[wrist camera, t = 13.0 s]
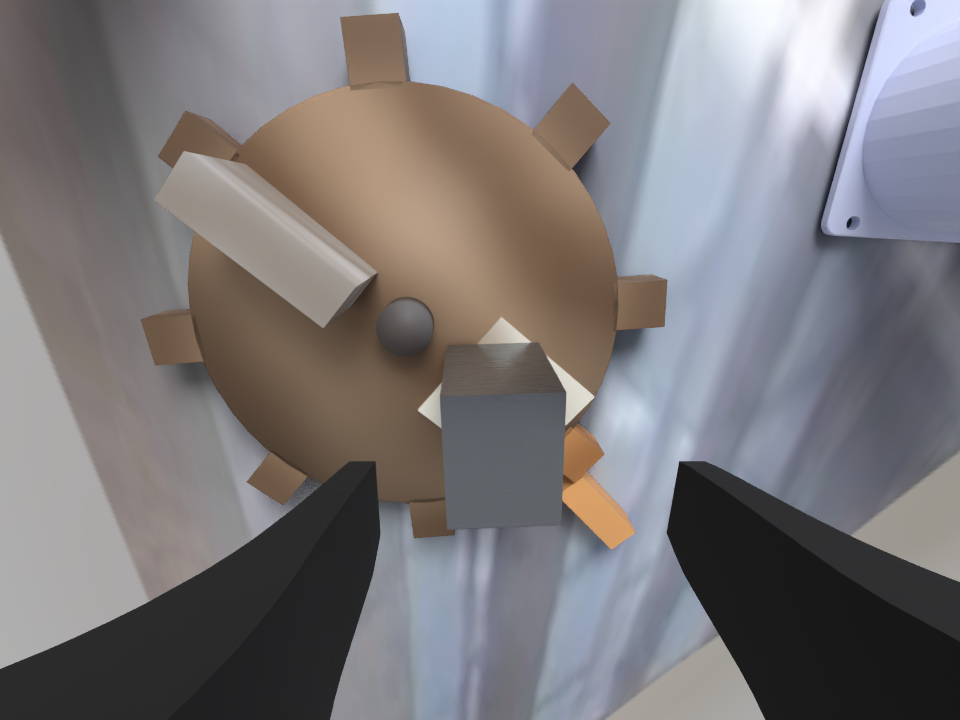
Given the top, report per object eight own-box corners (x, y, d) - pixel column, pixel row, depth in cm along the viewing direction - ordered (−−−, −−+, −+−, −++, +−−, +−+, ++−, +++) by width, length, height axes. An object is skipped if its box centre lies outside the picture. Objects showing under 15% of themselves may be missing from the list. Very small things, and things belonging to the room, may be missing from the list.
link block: (538, 342, 17) (566, 392, 12) (537, 444, 19) (561, 525, 14) (447, 344, 17) (439, 396, 12) (452, 447, 19) (447, 529, 14)
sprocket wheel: (359, -120, 14) (305, -288, 9) (748, 289, 19) (846, 316, 14) (73, 340, 18) (-64, 385, 14) (444, 582, 23) (438, 679, 18)
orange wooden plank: (551, 476, 21) (557, 495, 20) (574, 459, 21) (582, 476, 20) (602, 527, 22) (611, 549, 21) (624, 511, 22) (635, 532, 21)
